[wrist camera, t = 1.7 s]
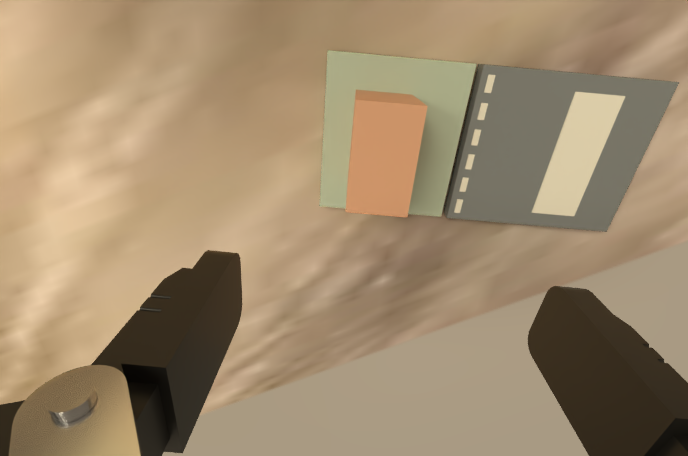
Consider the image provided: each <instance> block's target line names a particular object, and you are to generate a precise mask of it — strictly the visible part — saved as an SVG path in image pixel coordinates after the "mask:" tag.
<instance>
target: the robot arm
mask: <svg viewBox="0 0 688 456" xmlns="http://www.w3.org/2000/svg"><path fill="white" fill-rule="evenodd" d="M241 311H242V286H241V264H240V257H239V254H238V253H230V252H220V251H210V250H208V251H206V252H205V253H204V254H203V256H202V257H201V258H200V259H199V261H198V262H197V263H196V265H195V266H194V267H193V269H189V268H182V269H180V270H178V271H177V272H175V273H173V274H172V275H170V276H169V277H167V278H165V279H164V280H163V281H162V282H161V283H160V284H159V286H158V287H157V288H156V289H155V290H154V291H153V293H152V294H151V297H148V299H147V300H146V301H145V302H144V303H143V304H142V306H141V307H140V310H139V311H137V312H136V313H135V314H134V315H133V316H132V317H131V319H130V320H129V321H128V322H127V323H126V324H125V326H124V327H123V328H122V329H121V330H120V332H119V333H118V334H117V335H116V336H115V337H114V339H113V340H112V341H111V342H110V343H109V345H108V346H107V347H106V348H105V349H104V350H103V352H102V353H101V354H100V355H99V356H98V358H97V359H96V360H95V361H94V362H93V363H92V364H91V365H89V366H84V367H80V368H76V369H73V370H70V371H67V372H65V373H63V374H61V375H58V376H56V377H54V378H53V379H51V380H49V381H48V382H46V383H45V384H43V385H42V386H40V387H39V388H38V389H36V390H35V391H34V392H33V393H32V394H31V395H30V396H29V397H28V398H27V399H26V400H24V401H19V402H14V403H8V404H2V405H0V456H162V454H163V452H175V453H183V451H184V449H185V447H186V444H187V442H188V440H189V437H190V435H191V433H192V430H193V428H194V426H195V424H196V421H197V419H198V417H199V414H200V412H201V410H202V407H203V405H204V403H205V401H206V398H207V396H208V394H209V391H210V389H211V387H212V384H213V382H214V380H215V377H216V375H217V373H218V370H219V368H220V366H221V364H222V361H223V359H224V357H225V354H226V352H227V350H228V347H229V345H230V343H231V340H232V338H233V336H234V334H235V331H236V329H237V327H238V324H239V321H240V316H241ZM528 346H529V350H530V353H531V356H532V358H533V359H534V361H535V363H536V364H537V366H538V368H539V370H540V371H541V373H542V375H543V377H544V378H545V380H546V382H547V383H548V385H549V387H550V389H551V390H552V392H553V394H554V396H555V397H556V399H557V401H558V403H559V404H560V406H561V408H562V410H563V411H564V413H565V415H566V416H567V418H568V420H569V422H570V423H571V425H572V427H573V429H574V430H575V432H576V434H577V436H578V437H579V439H580V441H581V442H582V444H583V446H584V448H585V449H586V451H587V453H588V455H589V456H688V383H687V382H686V381H685V380H684V379H683V378H682V377H681V376H680V375H679V374H678V373H677V372H676V371H675V370H674V369H673V368H672V367H671V366H670V365H669V364H668V363H664V359H663V358H662V357H661V356H660V355H659V354H658V353H657V352H656V351H655V350H654V349H653V348H649V344H648V343H647V342H646V341H645V340H644V339H643V338H642V337H641V336H640V335H639V334H638V333H637V332H636V331H635V330H634V329H633V328H632V327H631V326H629V325H628V324H627V323H625V322H623V321H622V320H621V319H619V318H618V317H616V316H615V315H613V314H612V313H611V312H610V311H609V310H608V309H607V308H606V307H605V306H604V305H603V304H602V303H601V301H600V300H598V298H596V296H595V295H594V294H593V293H592V292H590V291H589V290H587V289H580V288H570V287H560V286H554V287H552V288H550V289H549V290H548V292H547V293H546V296H545V298H544V300H543V302H542V304H541V306H540V309H539V311H538V313H537V315H536V317H535V320H534V322H533V324H532V326H531V329H530V331H529V335H528Z"/></svg>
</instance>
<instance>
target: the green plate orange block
mask: <svg viewBox="0 0 688 456" xmlns="http://www.w3.org/2000/svg"><path fill="white" fill-rule="evenodd" d="M476 65H477V64H474V63H463V62H452V61H441V60H430V59H419V58H408V57H397V56H386V55H375V54H365V53H354V52H343V51H332V50H328V54H327V72H326V91H325V110H324V129H323V148H322V167H321V186H320V205H319V206H322V207H334V208H345V209H346V212H350V213H361V214H373V215H384V216H396V217H407V216H408V214H414V215H426V216H437V217H441V215H442V211H443V206H444V202H445V198H446V194H447V189H448V185H449V181H450V176H451V172H452V168H453V164H454V159H455V155H456V151H457V146H458V142H459V138H460V133H461V129H462V125H463V121H464V116H465V112H466V108H467V103H468V99H469V95H470V90H471V86H472V82H473V78H474V73H475V69H476Z"/></svg>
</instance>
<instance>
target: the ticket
mask: <svg viewBox="0 0 688 456" xmlns="http://www.w3.org/2000/svg"><path fill="white" fill-rule="evenodd" d="M678 84H679V82H671V81H660V80H649V79H638V78H627V77H616V76H605V75H594V74H583V73H572V72H561V71H551V70H540V69H529V68H518V67H507V66H496V65H485V64H478V69H477V73H476V77H475V81H474V86H473V90H472V94H471V98H470V103H469V107H468V111H467V115H466V120H465V124H464V128H463V132H462V137H461V141H460V145H459V149H458V154H457V158H456V162H455V166H454V171H453V175H452V179H451V184H450V188H449V192H448V196H447V201H446V205H445V209H444V213H445V215H446V217H447V218H454V219H465V220H477V221H488V222H500V223H511V224H523V225H534V226H546V227H557V228H569V229H581V230H592V231H604V232H607V230H608V228H609V226H610V224H611V222H612V219H613V217H614V215H615V213H616V211H617V209H618V207H619V205H620V203H621V201H622V199H623V197H624V195H625V193H626V191H627V189H628V187H629V185H630V182H631V180H632V178H633V176H634V174H635V172H636V170H637V168H638V166H639V164H640V162H641V160H642V158H643V156H644V154H645V152H646V150H647V148H648V146H649V143H650V141H651V139H652V137H653V135H654V133H655V131H656V129H657V127H658V125H659V123H660V121H661V119H662V117H663V115H664V113H665V111H666V109H667V106H668V104H669V102H670V100H671V98H672V96H673V94H674V92H675V90H676V88H677V86H678Z"/></svg>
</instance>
